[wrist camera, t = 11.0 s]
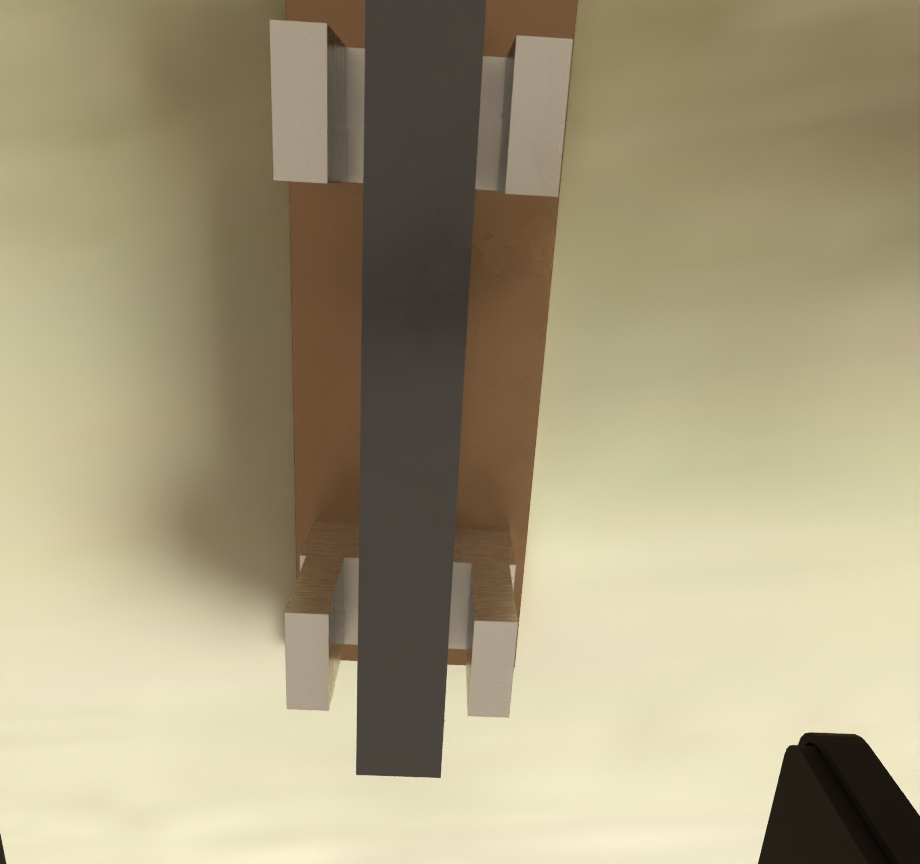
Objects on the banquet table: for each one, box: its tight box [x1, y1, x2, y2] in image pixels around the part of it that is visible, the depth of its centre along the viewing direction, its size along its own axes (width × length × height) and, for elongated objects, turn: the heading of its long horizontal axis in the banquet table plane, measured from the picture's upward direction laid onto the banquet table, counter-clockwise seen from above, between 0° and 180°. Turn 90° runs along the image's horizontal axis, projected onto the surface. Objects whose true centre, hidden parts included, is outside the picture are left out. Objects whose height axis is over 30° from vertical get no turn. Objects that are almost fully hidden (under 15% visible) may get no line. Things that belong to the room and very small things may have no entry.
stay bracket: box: [270, 0, 578, 718], centre depth 27 cm, size 10×28×8 cm, turn 177°
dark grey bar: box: [356, 0, 486, 778], centre depth 25 cm, size 3×26×5 cm, turn 177°
